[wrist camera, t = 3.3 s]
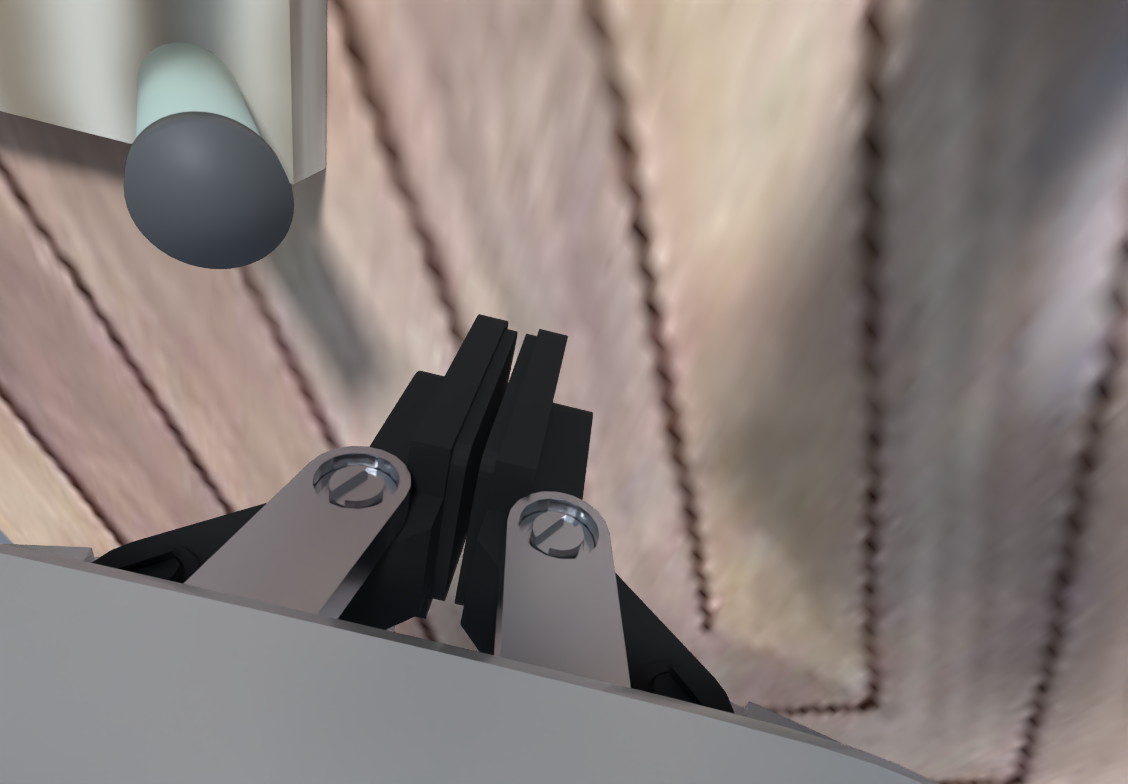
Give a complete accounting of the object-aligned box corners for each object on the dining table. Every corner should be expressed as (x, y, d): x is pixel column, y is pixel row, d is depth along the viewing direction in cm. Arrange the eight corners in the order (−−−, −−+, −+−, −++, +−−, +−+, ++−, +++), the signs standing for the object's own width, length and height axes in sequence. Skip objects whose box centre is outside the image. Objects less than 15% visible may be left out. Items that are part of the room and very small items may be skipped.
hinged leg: (240, 41, 23) (292, 130, 15) (246, 141, 25) (294, 268, 17) (123, 23, 22) (110, 114, 13) (139, 132, 23) (136, 269, 15)
